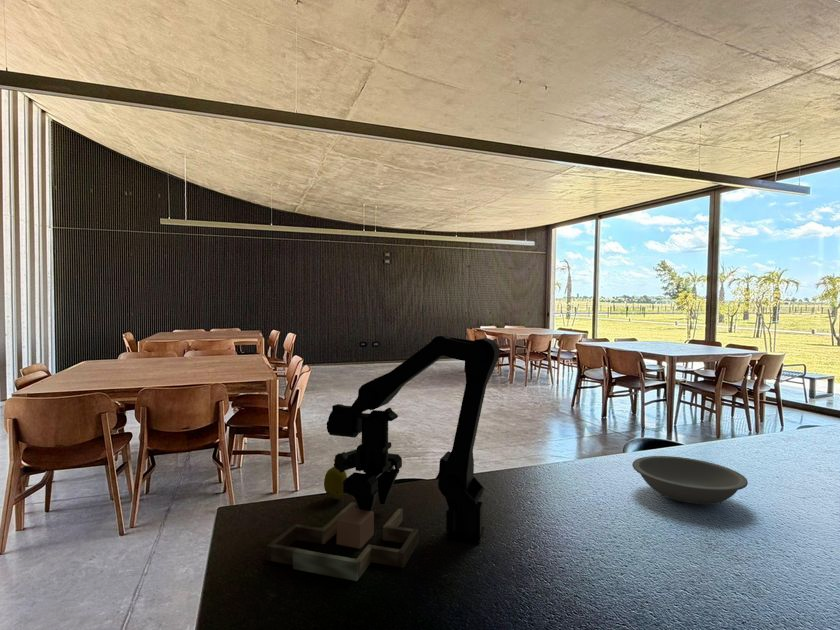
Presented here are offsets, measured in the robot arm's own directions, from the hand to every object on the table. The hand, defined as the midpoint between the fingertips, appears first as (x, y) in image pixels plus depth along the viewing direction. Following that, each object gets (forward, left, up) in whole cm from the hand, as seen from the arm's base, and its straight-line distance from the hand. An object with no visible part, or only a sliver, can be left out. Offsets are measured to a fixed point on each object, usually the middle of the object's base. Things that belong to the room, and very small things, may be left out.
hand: (374, 512), depth 95 cm
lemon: (+13, -7, -2) cm, 15 cm away
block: (0, +9, -2) cm, 9 cm away
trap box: (0, +10, -2) cm, 10 cm away
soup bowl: (-68, -34, -2) cm, 76 cm away
